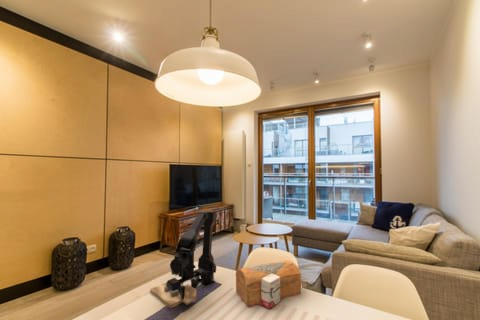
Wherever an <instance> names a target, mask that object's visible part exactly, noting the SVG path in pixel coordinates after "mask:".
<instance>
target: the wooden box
mask: <svg viewBox="0 0 480 320" xmlns="http://www.w3.org/2000/svg"><path fill="white" fill-rule="evenodd" d="M270 274H275V275H277V276H279V277H280V300H281V299H285V298H288V297H293V296H296V295H300V294H301V291H302V290H301V289H302V274H301V271H300V269H299V267H298V266H297V264H296V263H294V262H293V261H291V260H283V261H278V262H269V263H263V264H258V265H254V266H253V265H252V266H248V267H243V268H242V267H241V268H237V269H236V270H235V292H236V294H237V295H238V296H239V298H240V299H241V300H243V301H242V302H243V303H244V304H245V306H246V307H247V308H251V307H256V306H260V305H261V282H262V278H264V277H266V276H268V275H270Z"/></svg>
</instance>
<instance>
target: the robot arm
mask: <svg viewBox="0 0 480 320" xmlns="http://www.w3.org/2000/svg"><path fill="white" fill-rule="evenodd" d="M217 217H218V213H217V212H216V211H215V210H208V209H207V210H205V209H204V210H199V211H198V212H197V213H196V216H195V218H194V220H193V222H192V224H191V226H190V227H189V229H188V230H187V231H185V232H184V233H183V234H182V235H181V236H180V238H179V240H178V242H177V245H176V246H177V247H176V248H175V252H174V254H175V255H174V258H173V259H172V260H171V262H170V264H169V267H170V273H171V275H173V276H174V275H175V277H173V278H170V279H167V281H166V282H165V283H166V287H168V288H169V289H170V290H172V291H175V290H177V289H178V291H179V294H180V297H181V299H182V300H183V299H184V293H185V287H184V286H185V285H184V283H186V282H188V281H190V286H192V287H193V288H195V289H196V290H197V288H198V287H199V284H202V285H204V286H206V287H208V286H210V285H212V284H215V283H216V280H214V279H215V278H214V276H215V275H214V274H216V272H217V265H216V263H215V258H214V256H213V254H212V246H213V245H212V244H213V243H212V242H213V241H212V240H213V230H214V229H213V227H214V225H215V224H216V222H217ZM202 227H203V235H202V236H203V238H202V253H201V255H200V257H199V258H198V263H197V269H196V265H195V252H196V248H197V244H198V241H199V240H198V235H199V233H200V232H201V229H202ZM176 276H178V277H179V279H178V278H176ZM183 285H184V286H183Z"/></svg>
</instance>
